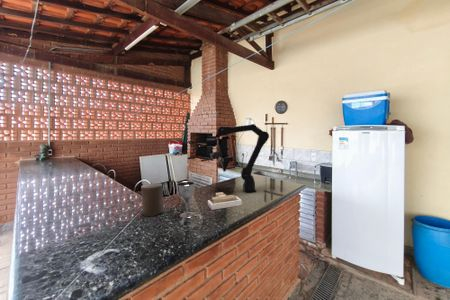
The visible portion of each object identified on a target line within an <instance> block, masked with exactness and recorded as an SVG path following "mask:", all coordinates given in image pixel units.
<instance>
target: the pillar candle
mask: <svg viewBox="0 0 450 300" xmlns="http://www.w3.org/2000/svg"><path fill="white" fill-rule="evenodd" d="M140 187H141V188H140V190H141V191H140V192H141V204H142V207H141V208H142V215H143V216H144V217H149V216H150V217H156V216H155V215H157V216H159V215H158V214H160V213H162V212H163V211H164V212H165V210H164V209H165V208H164V194H163V183H161V182H153V183H152V182H150V183H147V184H143V185H141V186H140ZM164 212H163V213H164ZM163 213H162V214H163ZM160 215H161V214H160Z"/></svg>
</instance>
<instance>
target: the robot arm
mask: <svg viewBox="0 0 450 300" xmlns="http://www.w3.org/2000/svg"><path fill="white" fill-rule="evenodd" d="M241 132H242V133H243V132H253V133H254V134H255V135H257V141H256V144H255V146H254V149H253V151H252V153H251V155H250V157H249V159H248V162H247V164H246V165H243V166H242V168H241V170H240V177H241V179H242V180H243V184H242V191H243V192H245V193H247V194H248V193H255V192H257V190H256V185H255V184H256V183H255V182H256V181H255V178H254V176H253V175H252V172H253V168H254V165H255V163H256V160H257V158H258V157H259V155H260V152H261V151H262V148H263V147H264V146H265V144H266V143H267V141H268V140H269V138H270V135H269V134H270V133H268V131H263V130H262V129H261V128H260V127H258V126H257V125H256V124H254V123H252V124H246V125H238V126H236V125H235V126H223V125H222V126H219V127H218V129H217V133H216V134H215V135H213V136H210V135H209V136H208V135H207V136H206V142H205V143H206V144H205V145H206V147H207V148H216V147H217V146H218V148H217V150H216V151H214V152H211V153H210V154H209V155H210V159H211V160H217V161H218V162H219V163H220V165H221V168H222V171H223V172H224V173H225V172H226V171H227V168H228V166H229V164H230V162H234V157H233V156H232V155H230V154H229V150H230V148H229V140H231V138H232V137H230V136H229V135H230V134H234V133H241Z"/></svg>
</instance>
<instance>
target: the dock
mask: <svg viewBox="0 0 450 300" xmlns="http://www.w3.org/2000/svg"><path fill="white" fill-rule="evenodd" d="M235 196H236V200H235V201H229V202H222V203H216V204H213V203H212V200H211V199H209V200H207V206H208V207H209V208H210V210H212V211H213V210H219V209H225V208H231V207H237V206H239V207H240V206H242V205H243V204H242V203H243V201H242V199H241V198H239V197H238V196H237V195H235Z"/></svg>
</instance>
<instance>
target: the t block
mask: <svg viewBox="0 0 450 300" xmlns="http://www.w3.org/2000/svg"><path fill="white" fill-rule="evenodd" d="M236 196H237V195H235V194H228V195H227V194H225V193H224V192H223V191H222V192H215V197H211V202H212V203H213V204H216V203H222V202H229V201H235V200H236Z"/></svg>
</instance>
